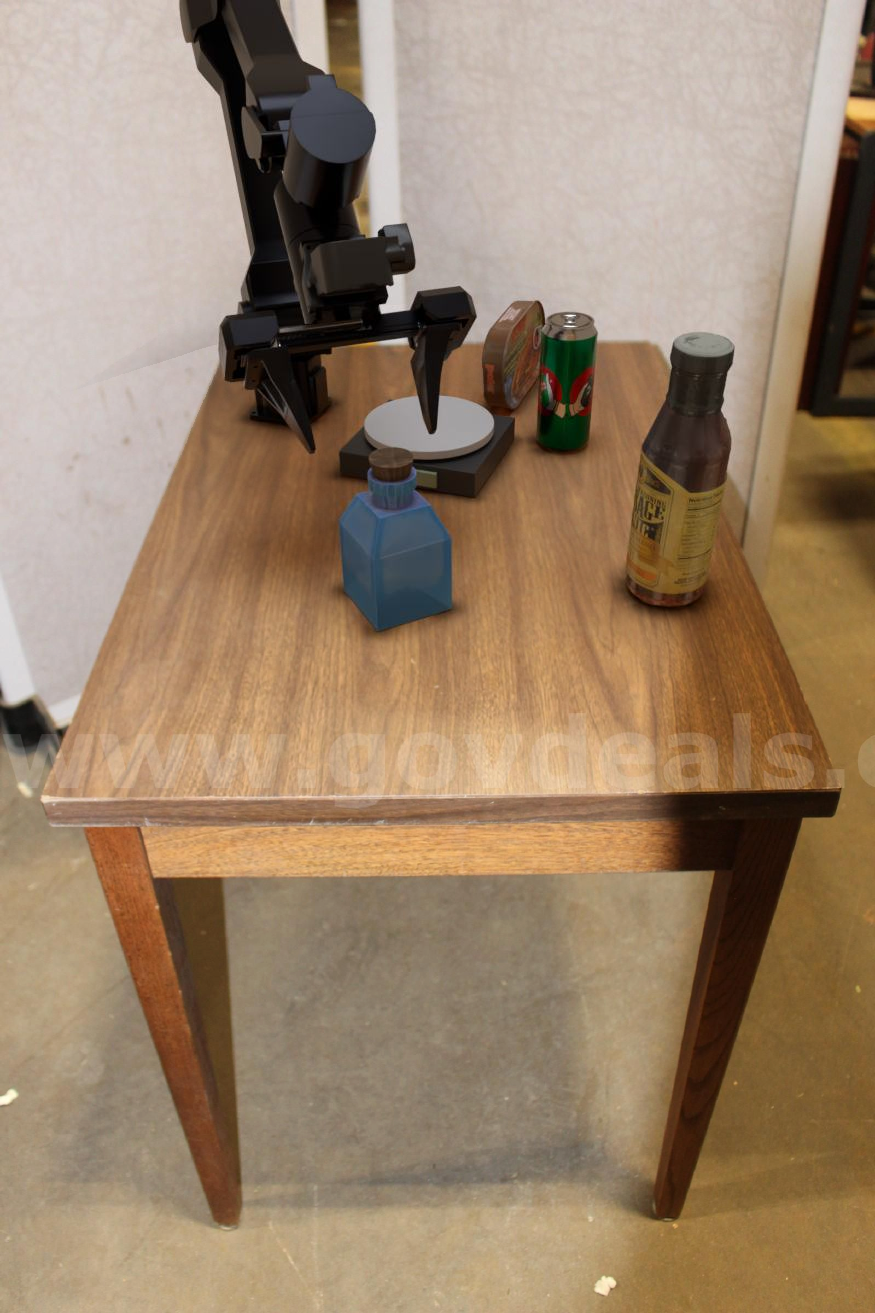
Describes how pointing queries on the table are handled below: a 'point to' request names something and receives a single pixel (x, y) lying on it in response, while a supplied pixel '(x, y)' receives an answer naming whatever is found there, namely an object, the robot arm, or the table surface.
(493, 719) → the table surface
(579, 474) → the table surface
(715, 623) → the table surface
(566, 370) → the soda can
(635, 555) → the sauce bottle
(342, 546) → the perfume bottle
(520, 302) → the tin
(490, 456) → the scale
